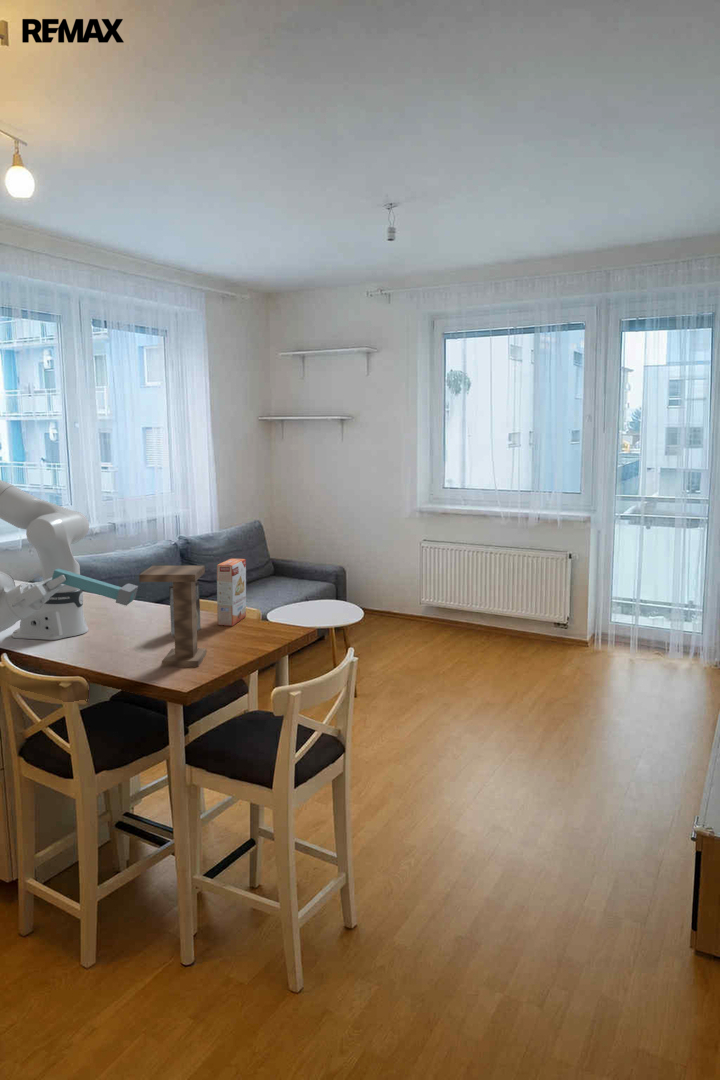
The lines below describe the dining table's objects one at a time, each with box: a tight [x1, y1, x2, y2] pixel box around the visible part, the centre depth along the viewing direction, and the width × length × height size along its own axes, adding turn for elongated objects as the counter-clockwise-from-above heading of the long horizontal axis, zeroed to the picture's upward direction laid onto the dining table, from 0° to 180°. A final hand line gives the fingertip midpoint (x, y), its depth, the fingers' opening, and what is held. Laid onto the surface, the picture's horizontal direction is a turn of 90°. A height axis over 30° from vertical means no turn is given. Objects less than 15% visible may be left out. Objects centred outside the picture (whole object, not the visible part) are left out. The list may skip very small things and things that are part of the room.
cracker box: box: [216, 558, 247, 627], centre depth 249 cm, size 14×6×21 cm, turn 170°
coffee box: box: [168, 581, 202, 636], centre depth 235 cm, size 9×6×16 cm
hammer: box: [52, 568, 139, 607], centre depth 203 cm, size 22×8×4 cm, turn 91°
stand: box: [138, 565, 207, 668], centre depth 205 cm, size 15×14×26 cm
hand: (68, 575), depth 202 cm, fingers closed on hammer, 3 cm apart
